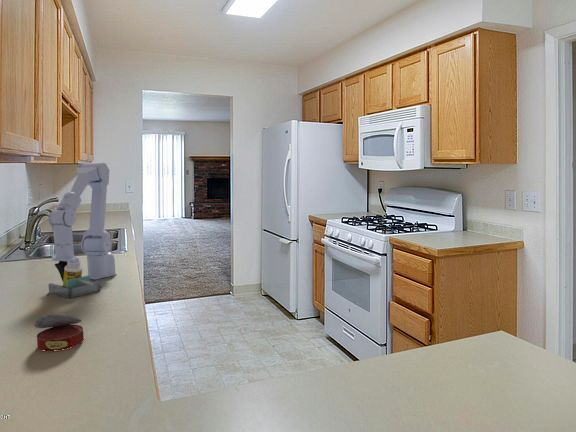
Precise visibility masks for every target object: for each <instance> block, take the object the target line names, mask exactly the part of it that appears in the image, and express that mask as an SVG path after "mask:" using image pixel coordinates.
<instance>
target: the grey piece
mask: <svg viewBox="0 0 576 432" xmlns="http://www.w3.org/2000/svg"><path fill="white" fill-rule="evenodd" d="M90 282H93V285H88V284H86V285H82V286H78V287H73V288H68V287H64V286H63V285H59V284H56V283H53V282H52V283H51V282H49V283H48V292H49V293H50V294H53V295H56V296H57V295H58V296H60V297H65V298H67V299H73V298H76V297H82V296H85V295H88V294H93V293H97V292H100V291H101V283H100V281H96V280H94V279H90Z"/></svg>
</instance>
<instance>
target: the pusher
mask: <svg viewBox="0 0 576 432" xmlns="http://www.w3.org/2000/svg"><path fill="white" fill-rule="evenodd" d="M87 275H88V274H87ZM90 280H91V279H90V276H89V275H88V276H86V275H84V276H83V275H82V277H78V278H74V279H69V280H66V287H68V288H73V287H78V286H82V285H86V284H88V285H93V282H90Z"/></svg>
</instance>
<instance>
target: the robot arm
mask: <svg viewBox="0 0 576 432" xmlns="http://www.w3.org/2000/svg"><path fill="white" fill-rule="evenodd" d="M75 171H76V178H75V180H74V183H73V185H72V187H71V189H70V191H69V192H66V193H64V195H63V197H62V199H61V201H60V202H59V204H58V205H57V207H56V209H53V210H52V211H50V213H49V215H48V220H47V221H48V224H49V225H50V227H51V231H52V232H53V240H54V241H53V242H54V253H55V254H51V261H52V262H56V261H57V262H58V263H57V262H56V263H54V267H55V268H56V269H57V271H58V273H59V275H60V278H61V282H63V278H64V268H65V266H66V265H67V262H68V261H72V263H73V264H74V263H79V261H80V258H79V257H77V256H75V252H74V248H75V247H74V240H73V239H74V237H73V225H74V224H75V222H76V215H77V210H78V208H79V206H80V204H81V203H82V198H81V196H82V194H83V192H84V191H85V189H86V188H87V187H88V186H90V188H91V201H90V214H89V215H90V216H89V217H90V218H89V228H88V229H87V230H86V231H85V232H83V234H82V235H83V236H82V239H81V241H80V249H81V251H82V253H84V256H86V261H87V263H86V264H87V275H86V274H85V276H88V275H89V276H90V280H93V281H96V280H99V279H104V278H108V277H112V276H116V275H117V272H116V262H115V256H114V254H113V253H112V252H110V251H111V249H112V246H113V244H112V240H111V234H110V232H108V231H107V230H106V229H105V223H106V208H107V206H106V205H107V191H108V189H107V188H108V185H109V183H110V169H109V167H108V165H107V163H105V162H104V161H103V162H102V161H100V162H80V163H79V164H78V165H77V168H76V170H75Z"/></svg>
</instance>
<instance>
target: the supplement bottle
mask: <svg viewBox="0 0 576 432" xmlns="http://www.w3.org/2000/svg"><path fill="white" fill-rule="evenodd" d="M78 277H83V266H82V265H81V260H79V263H74V264H73V263H72V261H68V262H67V265H66V266H65V268H64V278H63V281H62V286H64V287H66V280H69V279H74V278H78Z"/></svg>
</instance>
